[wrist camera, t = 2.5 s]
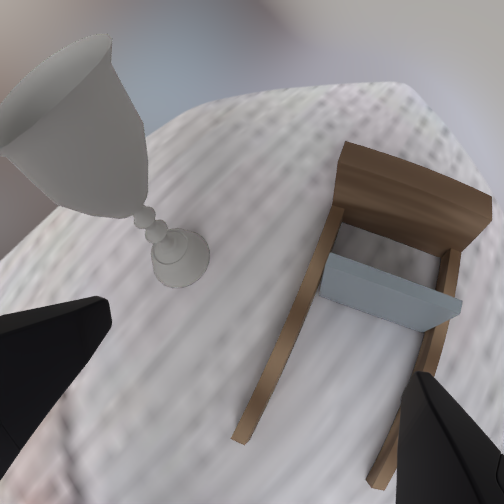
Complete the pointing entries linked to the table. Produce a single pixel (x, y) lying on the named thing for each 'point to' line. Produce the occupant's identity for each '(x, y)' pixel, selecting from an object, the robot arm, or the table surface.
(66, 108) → the chalice
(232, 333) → the table surface
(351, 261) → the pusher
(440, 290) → the brown wooden u-shaped piece
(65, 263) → the table surface
